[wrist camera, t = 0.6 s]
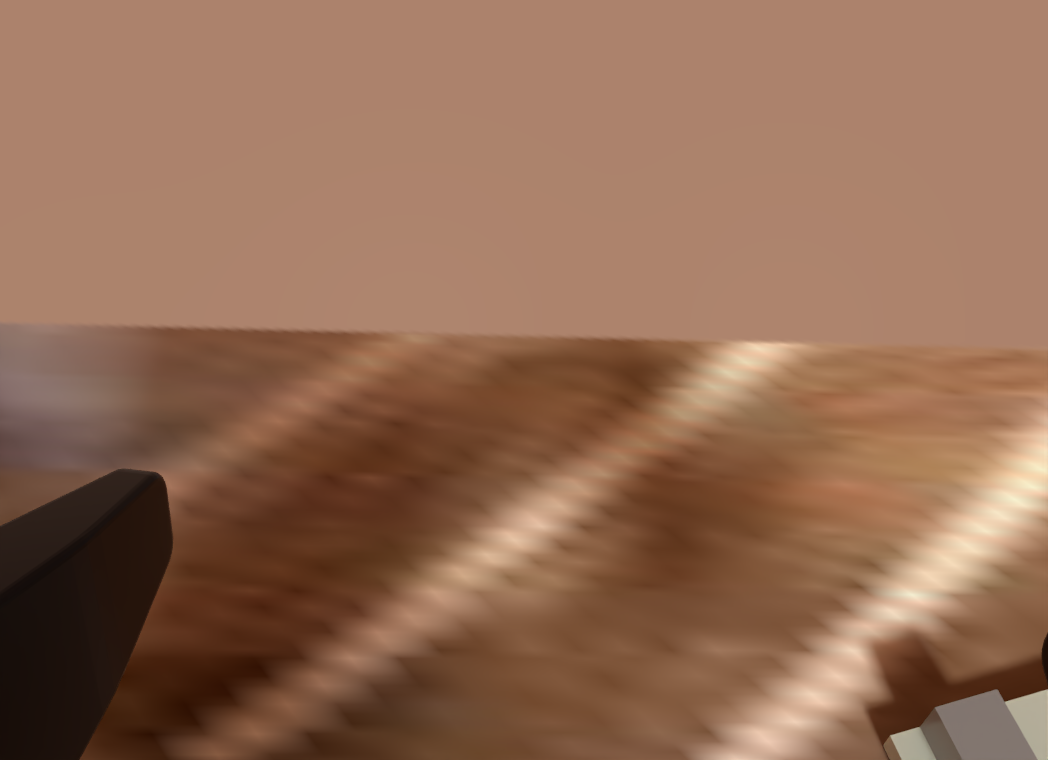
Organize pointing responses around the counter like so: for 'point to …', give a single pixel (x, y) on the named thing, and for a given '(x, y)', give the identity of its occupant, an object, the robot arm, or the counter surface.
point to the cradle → (978, 730)
